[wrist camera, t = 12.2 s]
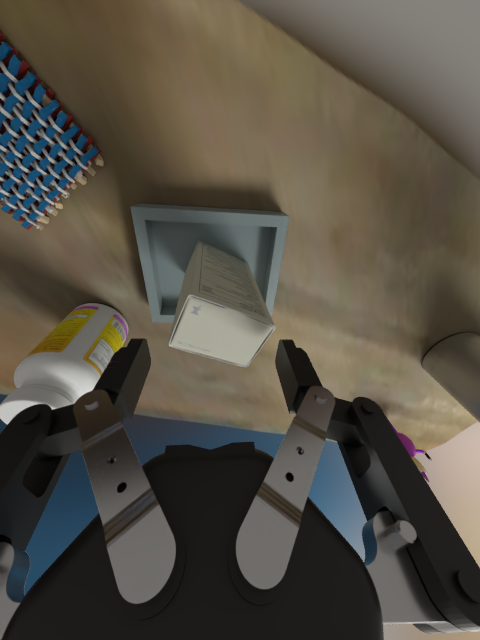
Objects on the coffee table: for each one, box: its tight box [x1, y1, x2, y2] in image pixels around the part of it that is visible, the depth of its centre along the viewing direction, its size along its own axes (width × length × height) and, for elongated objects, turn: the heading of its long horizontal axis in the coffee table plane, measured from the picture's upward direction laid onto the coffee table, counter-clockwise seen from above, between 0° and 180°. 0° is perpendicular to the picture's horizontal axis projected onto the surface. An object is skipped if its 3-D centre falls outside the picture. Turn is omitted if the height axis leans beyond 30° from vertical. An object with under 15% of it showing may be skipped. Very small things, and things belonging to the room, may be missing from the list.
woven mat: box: [0, 31, 104, 230], centre depth 17 cm, size 10×11×2 cm
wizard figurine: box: [388, 420, 431, 482], centre depth 42 cm, size 11×3×12 cm, turn 69°
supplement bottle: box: [0, 303, 128, 425], centre depth 22 cm, size 7×7×13 cm
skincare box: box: [169, 241, 275, 367], centre depth 19 cm, size 6×4×12 cm
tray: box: [130, 203, 289, 322], centre depth 24 cm, size 14×12×2 cm
